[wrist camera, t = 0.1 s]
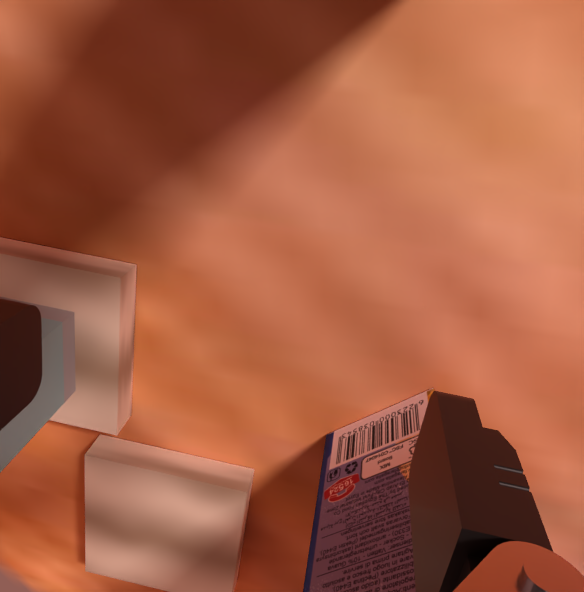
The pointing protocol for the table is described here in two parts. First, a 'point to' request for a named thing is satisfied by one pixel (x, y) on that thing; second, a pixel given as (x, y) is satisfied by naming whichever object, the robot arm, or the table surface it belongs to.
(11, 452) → the block
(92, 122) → the table surface
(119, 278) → the stand
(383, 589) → the blue food carton
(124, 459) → the stand
